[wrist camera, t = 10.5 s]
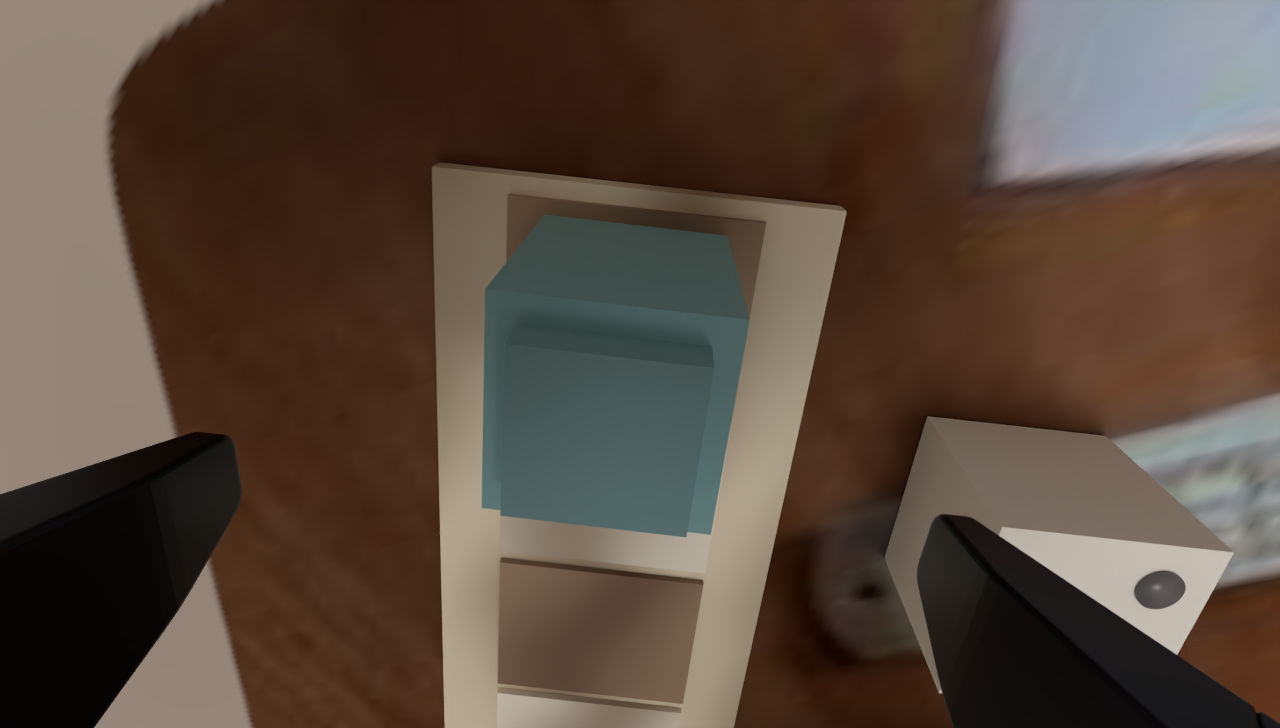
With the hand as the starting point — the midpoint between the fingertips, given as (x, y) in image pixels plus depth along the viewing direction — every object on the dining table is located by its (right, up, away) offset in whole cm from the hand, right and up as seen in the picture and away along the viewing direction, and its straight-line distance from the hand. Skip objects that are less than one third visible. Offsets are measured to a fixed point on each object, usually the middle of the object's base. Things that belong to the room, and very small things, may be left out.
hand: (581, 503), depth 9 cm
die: (+10, -2, +10) cm, 14 cm away
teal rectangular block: (+1, +3, +7) cm, 8 cm away
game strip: (0, -3, +11) cm, 11 cm away
